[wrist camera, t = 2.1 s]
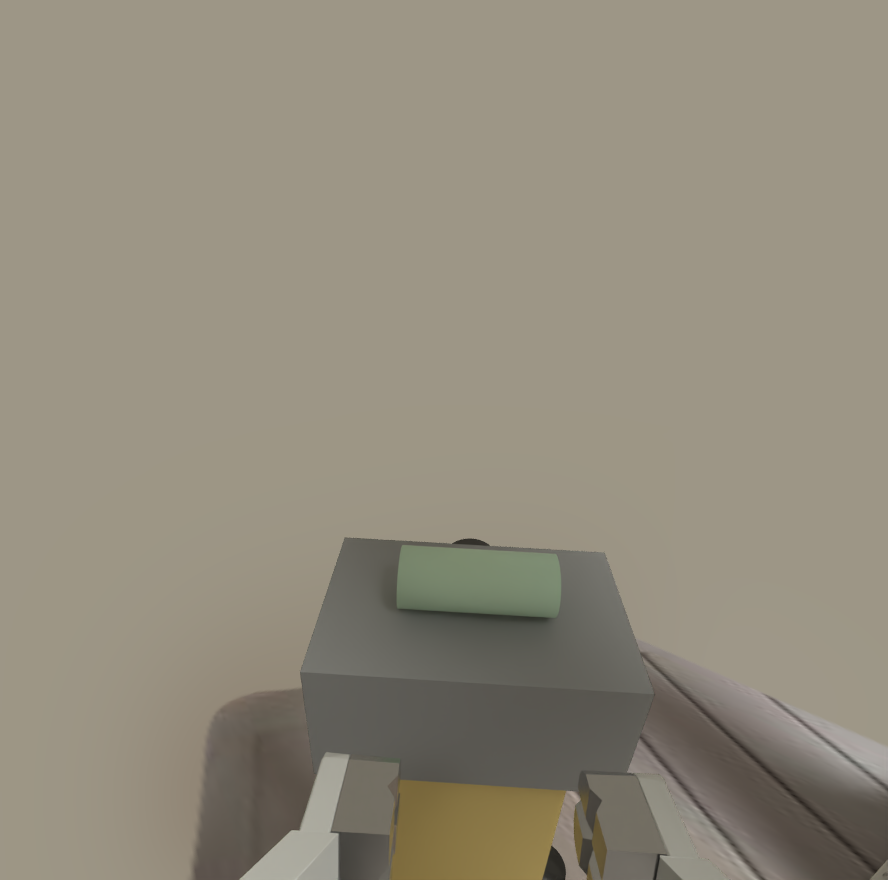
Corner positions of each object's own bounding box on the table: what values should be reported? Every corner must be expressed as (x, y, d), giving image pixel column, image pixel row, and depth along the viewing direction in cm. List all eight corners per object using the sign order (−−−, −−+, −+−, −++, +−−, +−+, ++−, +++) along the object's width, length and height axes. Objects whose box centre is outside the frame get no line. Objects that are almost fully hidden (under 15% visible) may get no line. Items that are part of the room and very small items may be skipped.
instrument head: (370, 815, 33) (353, 466, 21) (526, 825, 33) (602, 480, 21) (343, 992, 26) (293, 621, 14) (543, 1007, 26) (672, 644, 13)
